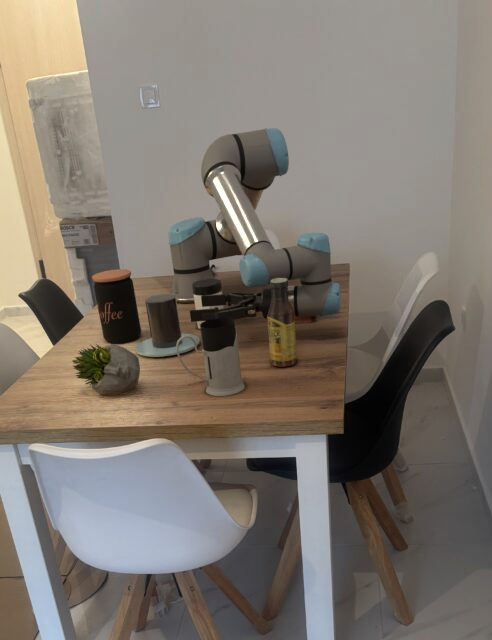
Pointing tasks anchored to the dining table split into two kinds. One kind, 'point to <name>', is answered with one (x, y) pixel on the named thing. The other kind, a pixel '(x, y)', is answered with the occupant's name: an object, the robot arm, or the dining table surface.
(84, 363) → the potted plant
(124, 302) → the coffee jar
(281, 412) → the dining table surface
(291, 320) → the sauce bottle
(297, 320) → the sunglasses case
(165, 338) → the dark glossy canister
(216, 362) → the glass holder
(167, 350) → the saucer
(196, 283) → the jar
